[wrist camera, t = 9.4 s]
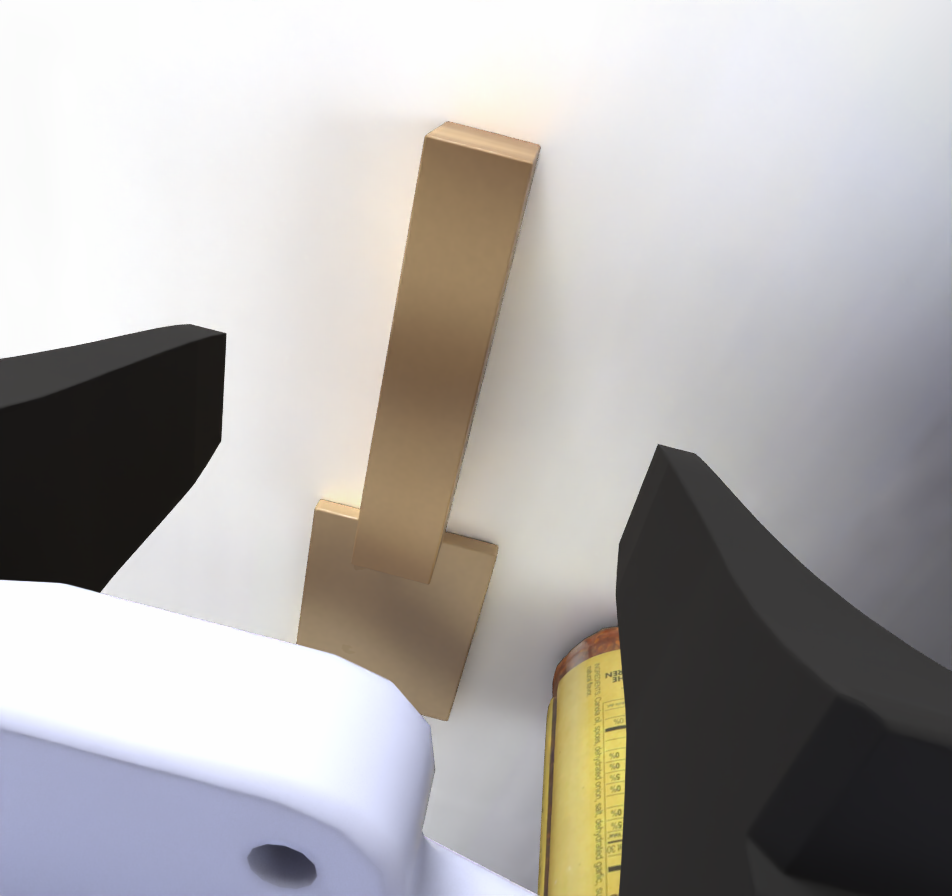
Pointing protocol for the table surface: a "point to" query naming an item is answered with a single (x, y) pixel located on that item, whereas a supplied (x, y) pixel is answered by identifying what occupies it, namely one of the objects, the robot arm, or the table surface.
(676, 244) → the table surface
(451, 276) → the tan upright bar
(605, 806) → the sauce bottle
